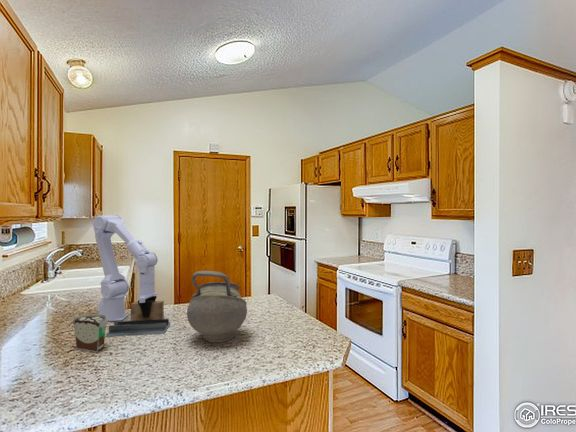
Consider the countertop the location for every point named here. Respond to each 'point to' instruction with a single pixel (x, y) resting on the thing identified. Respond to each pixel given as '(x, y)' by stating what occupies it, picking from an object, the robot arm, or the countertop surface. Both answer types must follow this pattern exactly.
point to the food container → (90, 332)
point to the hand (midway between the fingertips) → (147, 315)
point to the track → (138, 327)
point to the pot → (216, 308)
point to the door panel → (155, 311)
